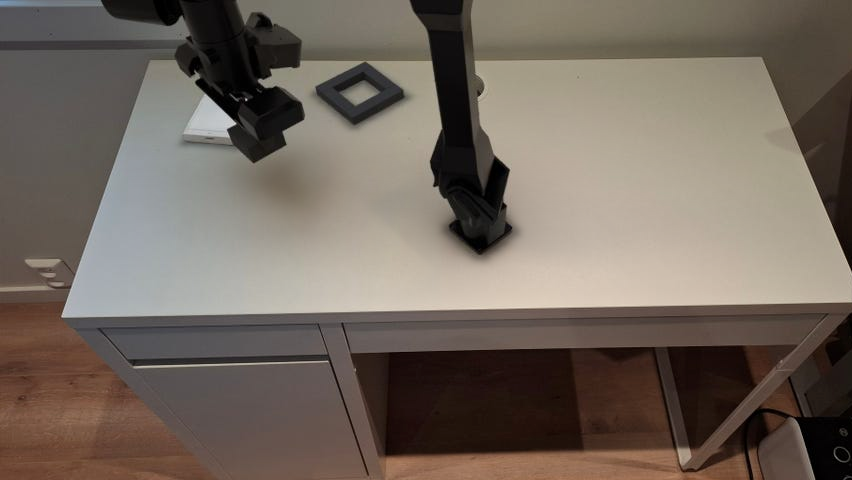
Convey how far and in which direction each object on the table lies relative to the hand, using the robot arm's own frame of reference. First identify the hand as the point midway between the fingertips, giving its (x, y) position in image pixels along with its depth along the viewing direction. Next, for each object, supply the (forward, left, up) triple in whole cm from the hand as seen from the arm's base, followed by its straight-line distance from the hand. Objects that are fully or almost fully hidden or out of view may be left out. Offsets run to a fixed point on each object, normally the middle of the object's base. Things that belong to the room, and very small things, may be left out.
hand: (258, 138), depth 77 cm
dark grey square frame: (+10, -22, -11) cm, 26 cm away
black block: (0, 0, -1) cm, 1 cm away
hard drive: (+20, -3, -11) cm, 23 cm away
